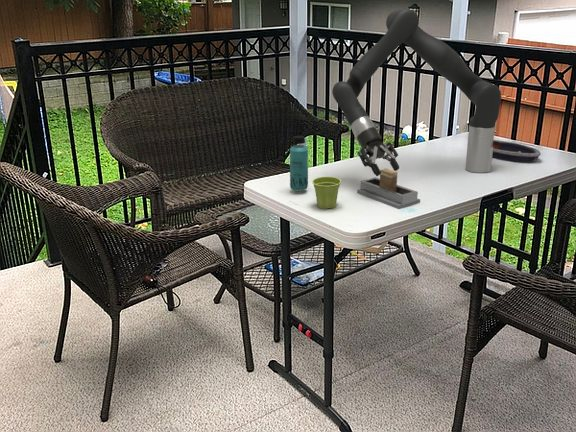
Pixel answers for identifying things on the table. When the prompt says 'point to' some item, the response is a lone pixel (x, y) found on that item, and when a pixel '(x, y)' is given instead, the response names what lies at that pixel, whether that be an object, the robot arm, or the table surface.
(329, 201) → the plant pot
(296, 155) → the beverage bottle
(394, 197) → the grey rectangular tray
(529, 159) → the dish
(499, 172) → the table surface
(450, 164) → the table surface
